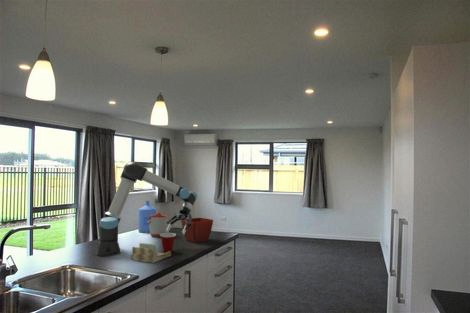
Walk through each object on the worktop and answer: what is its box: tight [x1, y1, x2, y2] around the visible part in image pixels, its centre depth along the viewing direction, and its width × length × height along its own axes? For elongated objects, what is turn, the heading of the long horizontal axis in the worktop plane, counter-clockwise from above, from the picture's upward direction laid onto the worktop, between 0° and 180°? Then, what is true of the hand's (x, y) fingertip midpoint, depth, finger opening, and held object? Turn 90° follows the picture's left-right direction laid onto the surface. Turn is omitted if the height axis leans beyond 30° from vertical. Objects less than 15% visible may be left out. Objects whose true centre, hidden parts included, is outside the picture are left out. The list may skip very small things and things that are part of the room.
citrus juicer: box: [147, 212, 168, 238], centre depth 296 cm, size 16×17×20 cm
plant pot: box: [180, 217, 214, 244], centre depth 276 cm, size 19×19×17 cm
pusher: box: [138, 242, 159, 257], centre depth 219 cm, size 14×1×8 cm, turn 67°
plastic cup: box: [159, 232, 177, 253], centre depth 238 cm, size 11×11×12 cm
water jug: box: [137, 200, 157, 234], centre depth 317 cm, size 16×16×28 cm
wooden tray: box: [130, 246, 172, 264], centre depth 221 cm, size 17×19×8 cm
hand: (174, 232), depth 245 cm, fingers open, 13 cm apart
